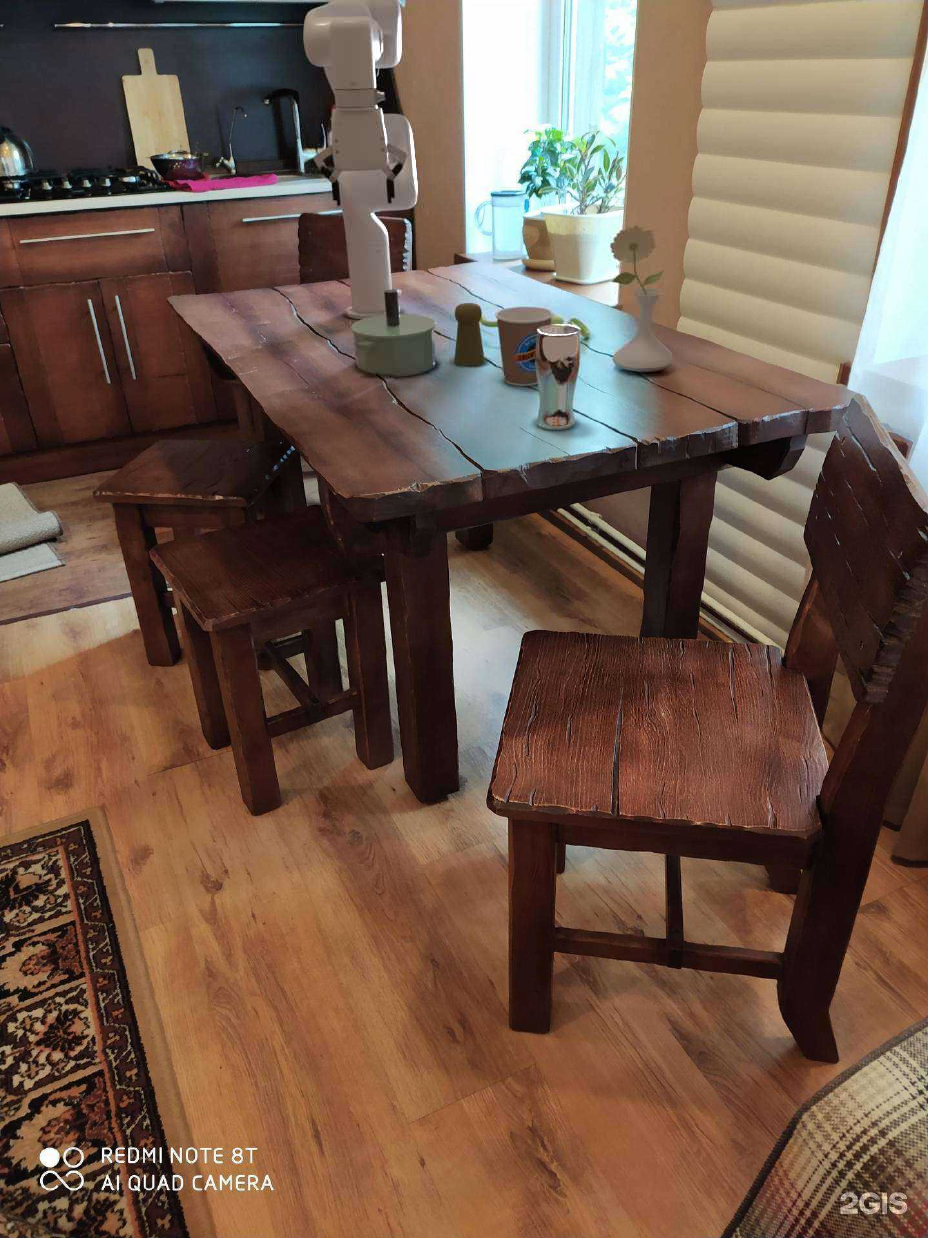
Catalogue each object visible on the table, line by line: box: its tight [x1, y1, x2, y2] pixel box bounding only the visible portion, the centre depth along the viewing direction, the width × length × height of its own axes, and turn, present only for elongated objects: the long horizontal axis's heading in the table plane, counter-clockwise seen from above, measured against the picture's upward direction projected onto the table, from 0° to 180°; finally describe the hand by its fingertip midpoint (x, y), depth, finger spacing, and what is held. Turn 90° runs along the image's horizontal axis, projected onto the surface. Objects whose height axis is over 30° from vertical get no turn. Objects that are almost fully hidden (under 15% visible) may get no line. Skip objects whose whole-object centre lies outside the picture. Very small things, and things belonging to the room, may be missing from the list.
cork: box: [453, 302, 486, 367], centre depth 173 cm, size 6×6×11 cm
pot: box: [352, 328, 436, 378], centre depth 174 cm, size 15×21×7 cm
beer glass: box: [535, 323, 581, 431], centre depth 142 cm, size 7×7×15 cm
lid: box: [350, 288, 437, 339], centre depth 170 cm, size 16×16×7 cm
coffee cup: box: [494, 306, 555, 387], centre depth 162 cm, size 10×10×12 cm
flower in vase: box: [609, 224, 675, 373], centre depth 163 cm, size 13×11×25 cm
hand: (364, 203), depth 171 cm, fingers open, 9 cm apart
